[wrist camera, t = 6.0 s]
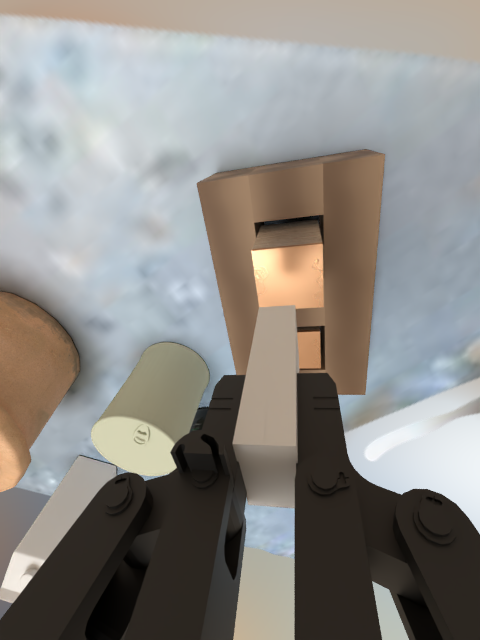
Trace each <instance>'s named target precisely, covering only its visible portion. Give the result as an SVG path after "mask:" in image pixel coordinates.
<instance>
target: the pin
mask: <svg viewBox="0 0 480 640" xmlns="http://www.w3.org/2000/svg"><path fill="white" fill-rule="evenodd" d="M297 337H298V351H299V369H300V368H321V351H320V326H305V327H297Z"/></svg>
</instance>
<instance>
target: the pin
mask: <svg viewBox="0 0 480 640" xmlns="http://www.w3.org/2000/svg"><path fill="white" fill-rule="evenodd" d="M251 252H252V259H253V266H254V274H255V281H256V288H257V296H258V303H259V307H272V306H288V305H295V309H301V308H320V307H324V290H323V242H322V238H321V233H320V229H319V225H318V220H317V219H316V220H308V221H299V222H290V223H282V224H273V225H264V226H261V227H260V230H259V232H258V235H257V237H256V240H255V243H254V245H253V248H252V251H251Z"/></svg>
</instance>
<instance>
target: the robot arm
mask: <svg viewBox="0 0 480 640" xmlns="http://www.w3.org/2000/svg"><path fill="white" fill-rule="evenodd" d="M170 453H171V455H172V458H173V460H174V462H175V464H176V467H177V469H178V470H177V471H176V472H173V473H171V474H168V475H165V476H162V477H158V478H154V479H151V480H147V481H144V479H143V478H142V477H141V476H140V475H138V474H137V473H129V472H127V473H124V474H120V475H117V476H116V477H114V478H112V479H111V480H109V481H108V482H107V483H106V484H105V485H104V486H103V487H102V488H101V489H100V490H99V491H98V492H97V494H96V495H95V496H94V498H93V499H92V500H91V501H90V503H89V504H88V505H87V507H86V508H85V509H84V511H83V512H82V513H81V515H80V516H79V517H78V519H77V520H76V521H75V522H74V524H73V525H72V526H71V528H70V529H69V530H68V532H67V533H66V534H65V536H64V537H63V538H62V540H61V541H60V542H59V543H58V545H57V546H56V547H55V549H54V550H53V551H52V553H51V554H50V555H49V557H48V558H47V559H46V560H45V562H44V563H43V564H42V566H41V567H40V568H39V570H38V571H37V572H36V574H35V575H34V576H33V578H32V579H31V580H30V581H29V583H28V584H27V585H26V587H25V588H24V589H23V591H22V592H21V593H20V595H19V596H18V597H17V599H16V600H15V601H14V602H13V604H12V605H11V607H10V608H9V609H8V610H7V612H6V613H5V614H4V616H3V617H2V618H1V620H0V640H233V636H234V628H235V619H236V610H237V602H238V593H239V584H240V577H241V568H242V560H243V551H244V543H245V534H246V519H245V516H244V510H245V503H246V497H247V501H248V505H258V506H271V507H284V508H295V640H382V637H381V631H380V625H379V619H378V613H377V607H376V601H375V595H374V590H373V584H372V581H373V582H375V583H377V584H379V585H381V586H383V587H385V588H387V589H389V590H390V592H391V595H392V598H393V600H394V603H395V605H396V608H397V610H398V613H399V615H400V618H401V620H402V623H403V625H404V628H405V630H406V633H407V635H408V638H409V640H480V534H479V533H478V531H477V530H476V528H475V527H474V525H473V524H472V522H471V521H470V520H469V518H468V517H467V516H466V514H465V513H464V512H463V511H462V510H461V509H460V508H459V507H458V506H457V504H455V503H454V502H452V501H451V500H449V499H448V498H446V497H445V496H443V495H442V494H439V493H436V492H433V491H431V490H428V489H412V490H410V491H408V492H405V493H403V494H402V495H401V494H397V493H395V492H392V491H390V490H387V489H384V488H382V487H379V486H376V485H375V484H372V483H370V482H369V481H367V480H366V479H364V478H363V477H362V476H361V475H360V474H359V473H358V472H357V471H356V470H355V469H354V467H353V466H352V464H351V463H350V460H349V457H348V454H347V448H346V443H345V436H344V430H343V424H342V418H341V412H340V406H339V400H338V393H337V387H336V383H335V382H334V381H333V379H332V378H331V377H330V375H329V374H328V373H299V351H298V337H297V323H296V309H295V305H288V306H272V307H259V311H258V316H257V321H256V326H255V331H254V336H253V341H252V346H251V352H250V357H249V362H248V367H247V372H246V375H224V376H223V377H222V378H221V380H220V381H219V382H218V383H217V384H216V386H215V389H214V392H213V395H212V400H211V402H210V405H209V410H208V411H207V415H206V418H205V421H204V424H203V428H202V430H197V431H193V432H190V433H188V434H186V435H184V436H183V437H182V438H181V439H180V440H178V441H177V442H176V443H175V445H174V447H173V448H172V450H171V452H170Z"/></svg>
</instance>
